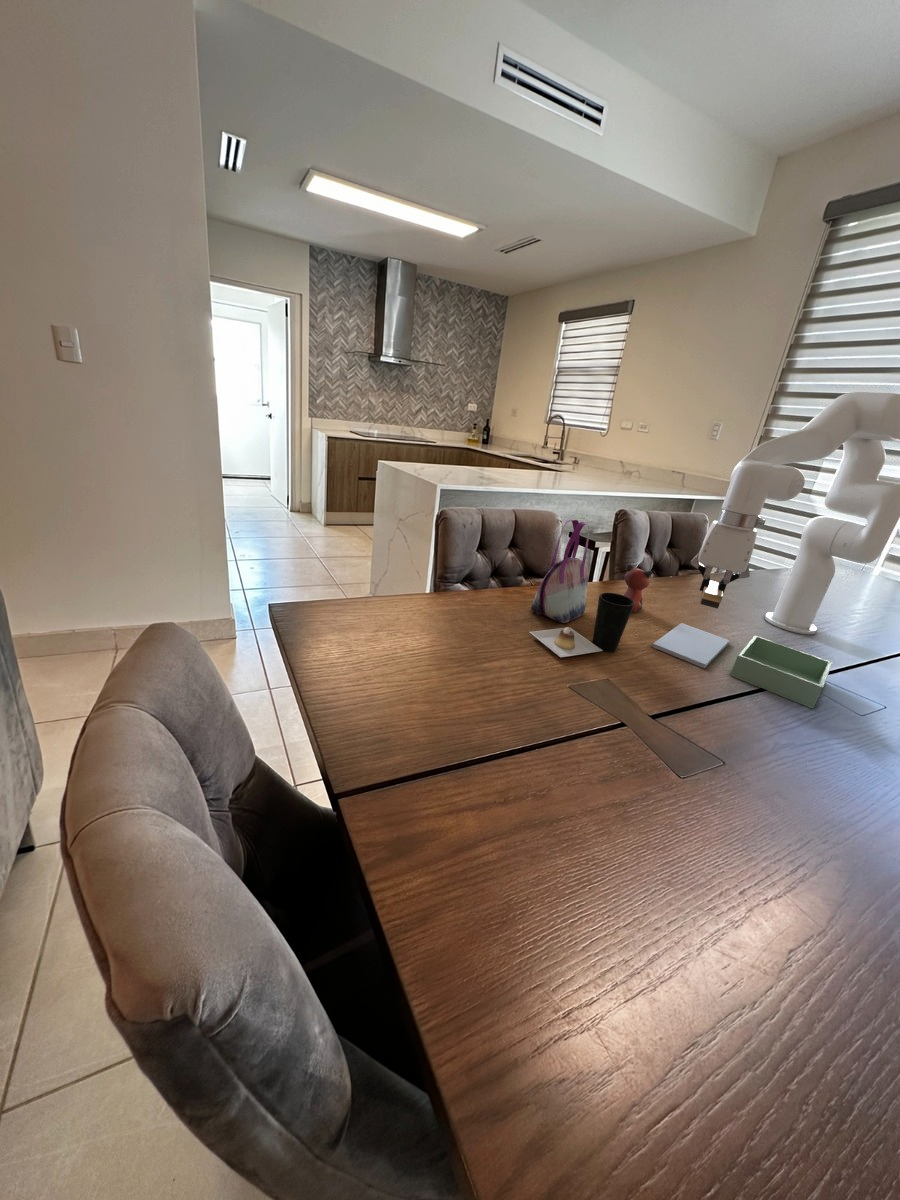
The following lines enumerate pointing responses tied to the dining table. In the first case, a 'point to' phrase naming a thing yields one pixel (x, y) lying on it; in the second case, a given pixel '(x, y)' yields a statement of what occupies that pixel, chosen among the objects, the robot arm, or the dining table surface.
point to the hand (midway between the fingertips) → (709, 595)
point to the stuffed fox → (636, 585)
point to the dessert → (565, 642)
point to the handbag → (564, 583)
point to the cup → (611, 620)
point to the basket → (782, 670)
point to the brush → (711, 595)
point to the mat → (691, 644)
